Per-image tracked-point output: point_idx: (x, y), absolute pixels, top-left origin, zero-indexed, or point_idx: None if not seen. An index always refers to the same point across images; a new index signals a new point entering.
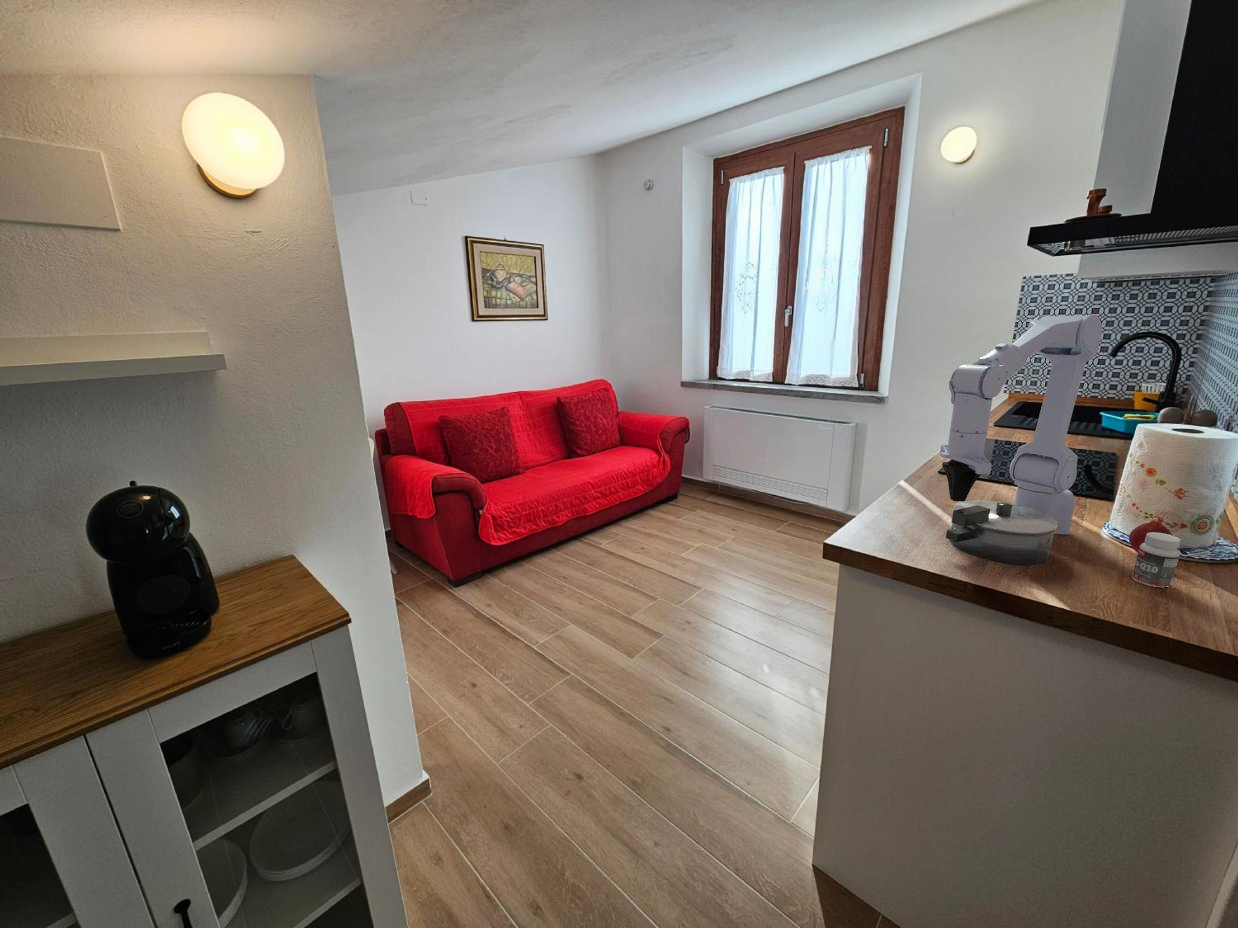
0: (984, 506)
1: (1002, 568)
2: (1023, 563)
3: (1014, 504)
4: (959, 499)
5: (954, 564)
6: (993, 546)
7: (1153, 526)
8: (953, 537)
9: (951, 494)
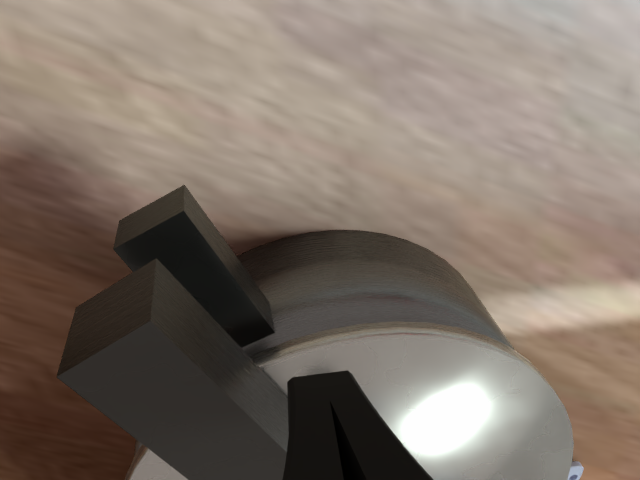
0: (475, 477)
1: None
2: None
3: None
4: (289, 424)
5: (70, 155)
6: None
7: None
8: (137, 221)
9: (323, 405)
